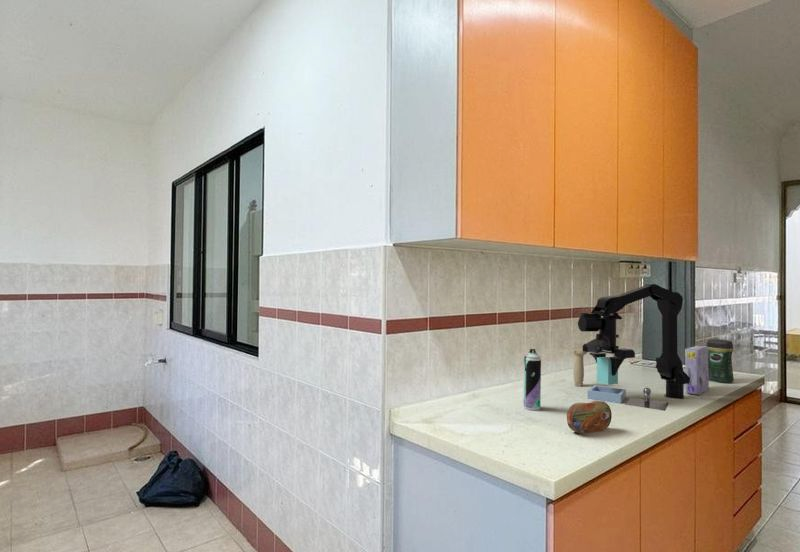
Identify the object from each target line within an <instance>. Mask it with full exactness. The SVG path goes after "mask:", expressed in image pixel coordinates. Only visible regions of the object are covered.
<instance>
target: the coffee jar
mask: <svg viewBox="0 0 800 552" xmlns="http://www.w3.org/2000/svg"><path fill="white" fill-rule="evenodd" d="M706 346H708V372H709V381H711V382H715V381H716V382H717V383H729V384H731V383H734V371H733V370H734V369H733V363H732V358H733V357H732V356H733V355H732V354H733V352H734V345H733V341H732V340H727V339H720V338H717V339H716V338H714V339H713V338H711V339H708V340H707V342H706Z"/></svg>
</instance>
